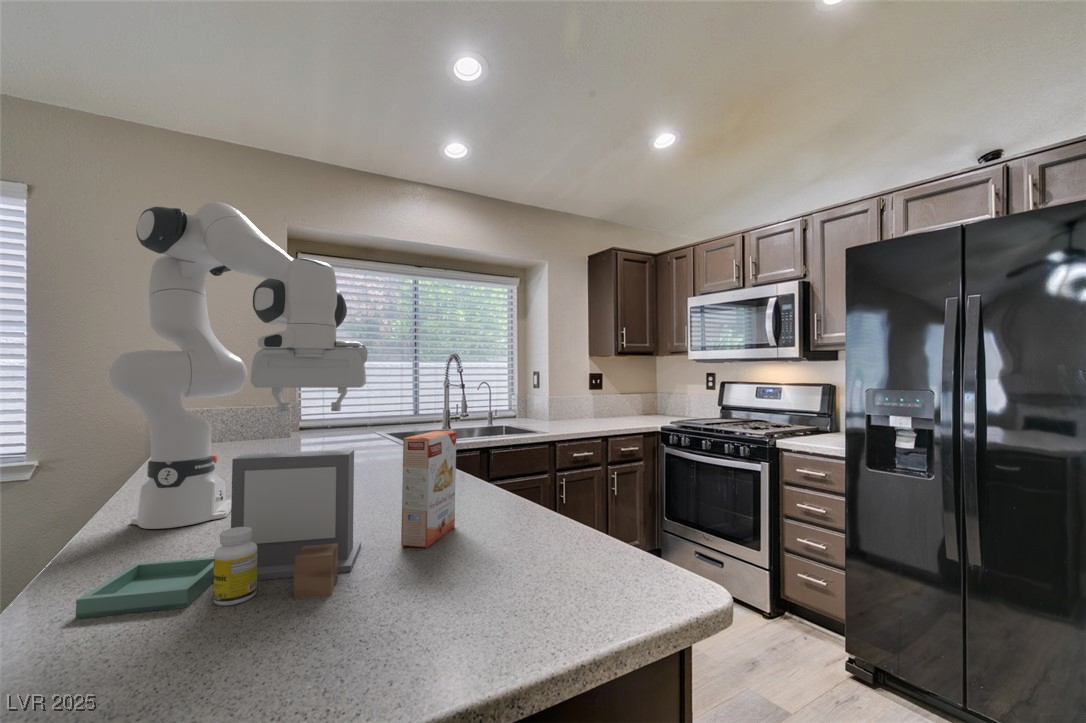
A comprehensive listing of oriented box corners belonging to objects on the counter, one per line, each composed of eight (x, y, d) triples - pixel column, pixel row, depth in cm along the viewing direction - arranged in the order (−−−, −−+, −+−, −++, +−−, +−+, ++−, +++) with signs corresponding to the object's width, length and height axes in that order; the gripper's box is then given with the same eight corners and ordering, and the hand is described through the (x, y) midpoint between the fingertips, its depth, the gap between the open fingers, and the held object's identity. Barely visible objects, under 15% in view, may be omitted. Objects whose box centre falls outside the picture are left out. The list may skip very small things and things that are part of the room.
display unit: (243, 556, 85) (246, 451, 86) (360, 546, 90) (362, 447, 91) (214, 584, 73) (217, 462, 74) (350, 571, 78) (352, 456, 79)
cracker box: (429, 549, 88) (429, 438, 89) (399, 547, 89) (400, 437, 90) (457, 526, 102) (457, 430, 103) (431, 525, 103) (432, 430, 104)
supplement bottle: (208, 598, 69) (210, 530, 69) (250, 586, 72) (251, 522, 73) (218, 610, 65) (219, 539, 65) (261, 597, 69) (263, 530, 69)
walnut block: (302, 585, 73) (303, 546, 73) (337, 581, 74) (337, 543, 75) (294, 599, 68) (294, 557, 69) (330, 595, 69) (331, 554, 70)
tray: (134, 579, 75) (135, 563, 76) (225, 570, 79) (226, 555, 79) (75, 618, 63) (76, 599, 63) (187, 607, 66) (187, 589, 66)
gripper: (369, 343, 97) (368, 409, 97) (260, 340, 93) (258, 410, 92) (365, 340, 91) (364, 411, 91) (248, 338, 86) (246, 413, 86)
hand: (310, 411), depth 91 cm, fingers open, 8 cm apart
